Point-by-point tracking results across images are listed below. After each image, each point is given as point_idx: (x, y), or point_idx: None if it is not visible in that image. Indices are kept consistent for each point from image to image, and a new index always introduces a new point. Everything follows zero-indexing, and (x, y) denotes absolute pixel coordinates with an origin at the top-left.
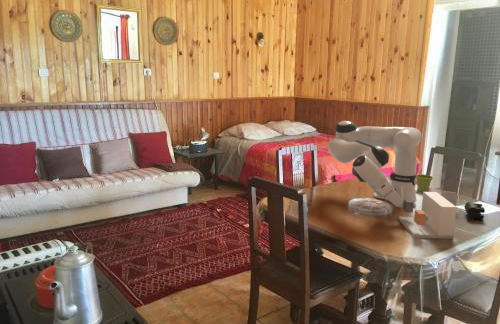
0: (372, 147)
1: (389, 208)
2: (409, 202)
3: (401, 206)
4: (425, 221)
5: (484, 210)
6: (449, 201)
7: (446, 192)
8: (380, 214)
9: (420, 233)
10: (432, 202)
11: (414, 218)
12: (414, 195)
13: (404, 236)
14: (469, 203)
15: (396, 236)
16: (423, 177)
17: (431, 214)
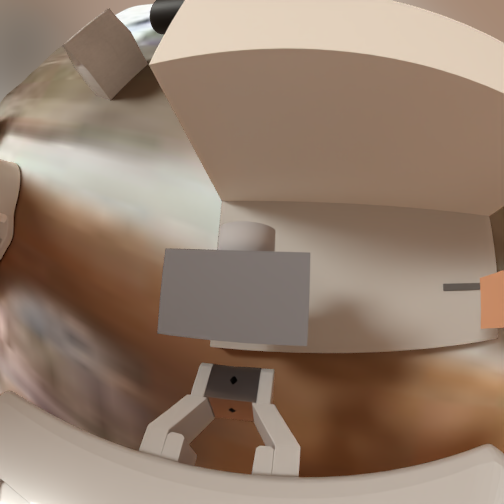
0: None
1: (51, 315)
2: (308, 311)
3: (273, 385)
4: (312, 200)
5: None
6: (114, 47)
7: (80, 36)
8: (131, 414)
9: None
10: (461, 102)
11: (498, 327)
12: (2, 163)
13: (473, 382)
14: (169, 3)
15: (469, 419)
16: None
17: (422, 166)
